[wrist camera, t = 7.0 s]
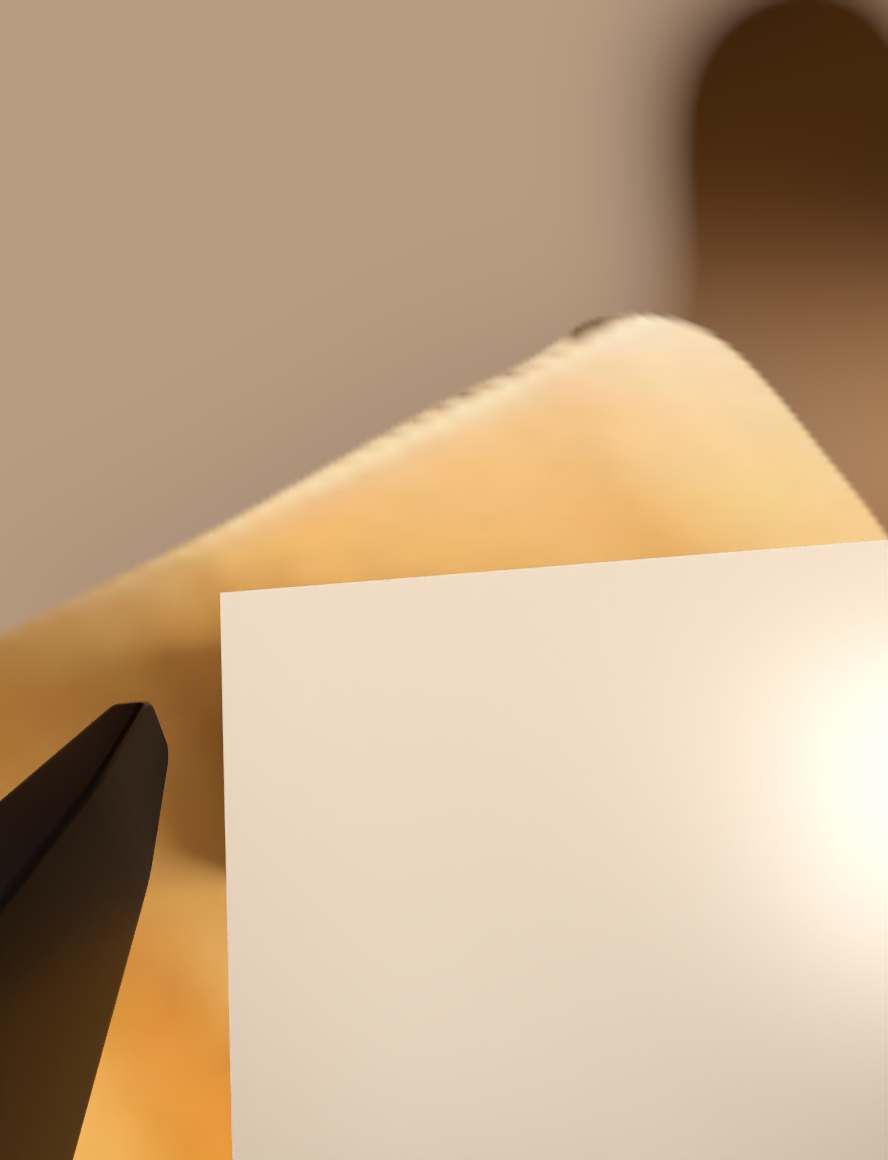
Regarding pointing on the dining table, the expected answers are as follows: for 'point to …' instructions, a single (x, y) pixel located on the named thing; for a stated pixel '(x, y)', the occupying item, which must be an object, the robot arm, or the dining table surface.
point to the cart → (561, 861)
